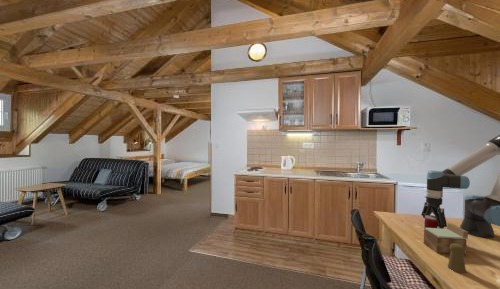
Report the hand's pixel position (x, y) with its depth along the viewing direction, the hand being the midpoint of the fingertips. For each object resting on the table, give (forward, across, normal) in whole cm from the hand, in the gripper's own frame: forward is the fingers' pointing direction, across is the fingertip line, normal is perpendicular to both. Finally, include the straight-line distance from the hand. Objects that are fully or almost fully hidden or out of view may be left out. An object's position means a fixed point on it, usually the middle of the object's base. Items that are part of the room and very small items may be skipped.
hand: (432, 232), depth 138 cm
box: (+1, +18, -5) cm, 19 cm away
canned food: (+2, 0, 0) cm, 2 cm away
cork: (+2, +38, -13) cm, 40 cm away
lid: (-7, +18, -5) cm, 20 cm away
